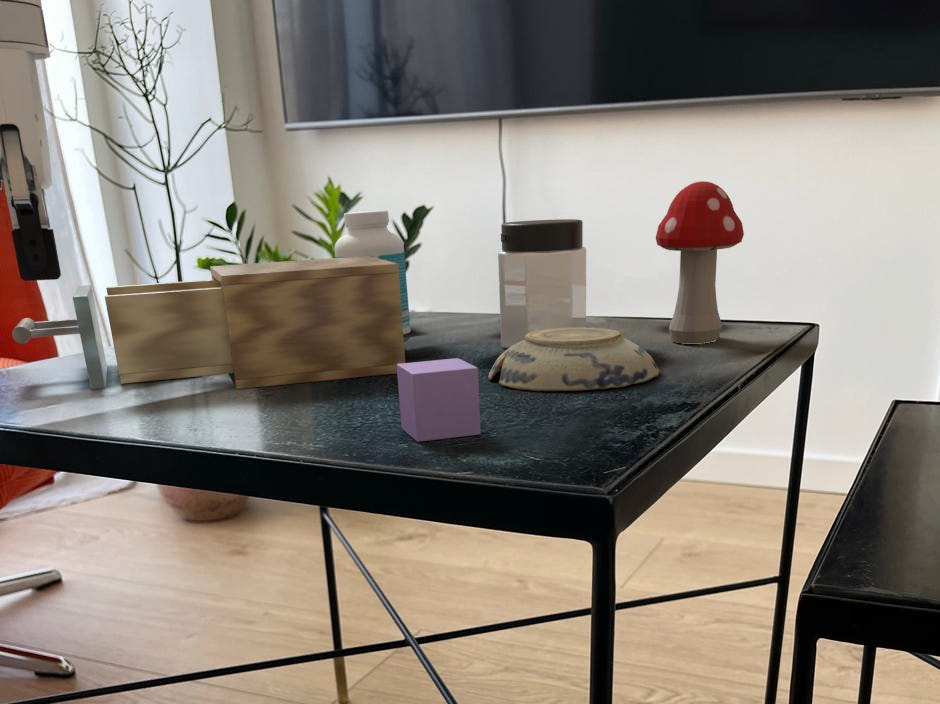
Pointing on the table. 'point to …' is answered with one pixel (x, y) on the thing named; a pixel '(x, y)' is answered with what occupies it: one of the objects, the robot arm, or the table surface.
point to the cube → (439, 399)
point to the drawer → (148, 331)
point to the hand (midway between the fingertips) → (41, 278)
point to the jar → (541, 277)
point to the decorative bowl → (573, 361)
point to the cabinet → (312, 320)
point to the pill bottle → (375, 248)
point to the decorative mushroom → (698, 256)
